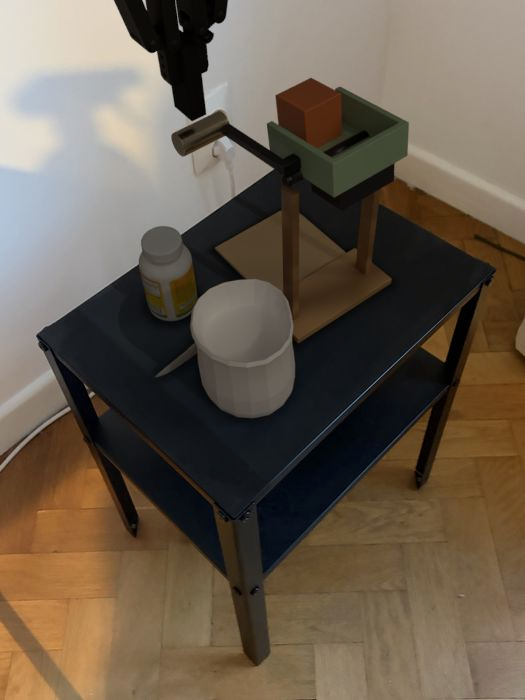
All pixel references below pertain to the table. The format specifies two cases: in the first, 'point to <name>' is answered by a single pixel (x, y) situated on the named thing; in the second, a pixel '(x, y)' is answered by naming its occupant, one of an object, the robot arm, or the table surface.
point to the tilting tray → (320, 150)
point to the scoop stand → (328, 271)
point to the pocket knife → (179, 360)
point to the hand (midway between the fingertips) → (190, 110)
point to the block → (310, 112)
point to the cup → (245, 346)
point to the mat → (277, 250)
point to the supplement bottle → (167, 274)
